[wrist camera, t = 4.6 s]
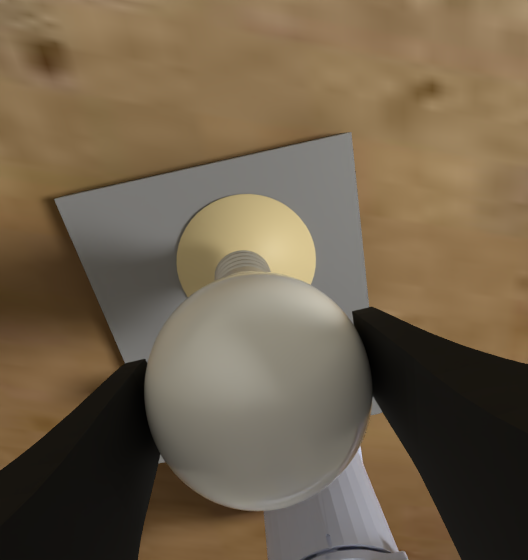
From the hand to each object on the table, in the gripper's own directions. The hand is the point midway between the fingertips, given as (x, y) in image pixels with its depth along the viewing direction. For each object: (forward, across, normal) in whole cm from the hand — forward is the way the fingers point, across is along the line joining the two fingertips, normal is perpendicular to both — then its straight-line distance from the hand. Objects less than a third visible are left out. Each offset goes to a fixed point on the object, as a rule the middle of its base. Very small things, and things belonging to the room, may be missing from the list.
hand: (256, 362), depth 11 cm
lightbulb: (+7, 0, 0) cm, 7 cm away
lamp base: (+10, +1, +1) cm, 10 cm away
